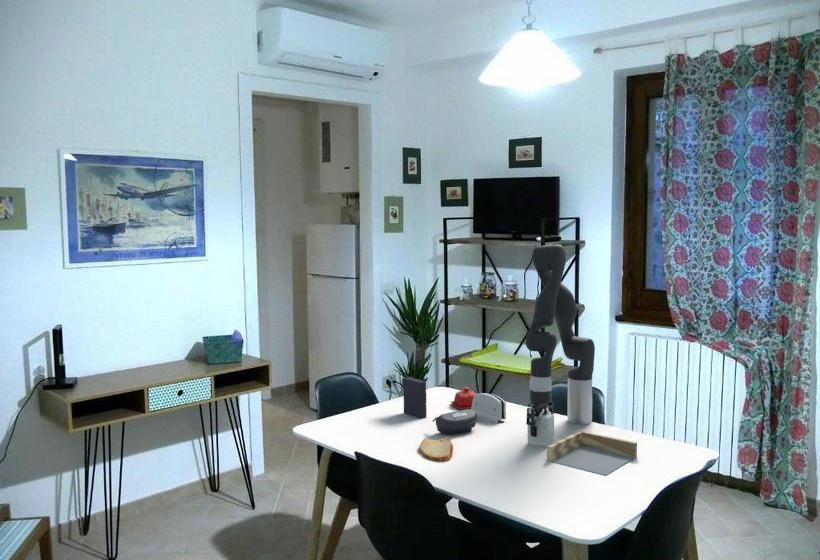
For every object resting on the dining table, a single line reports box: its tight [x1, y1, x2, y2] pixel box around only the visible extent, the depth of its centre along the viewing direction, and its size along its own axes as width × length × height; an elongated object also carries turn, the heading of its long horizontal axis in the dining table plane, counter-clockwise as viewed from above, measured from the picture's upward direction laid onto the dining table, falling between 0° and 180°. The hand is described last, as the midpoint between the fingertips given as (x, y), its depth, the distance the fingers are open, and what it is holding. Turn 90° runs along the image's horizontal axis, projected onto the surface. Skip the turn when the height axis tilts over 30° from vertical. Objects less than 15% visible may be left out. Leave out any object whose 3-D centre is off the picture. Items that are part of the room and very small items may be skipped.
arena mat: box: [550, 446, 636, 477], centre depth 225 cm, size 21×19×1 cm
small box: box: [527, 413, 555, 448], centre depth 242 cm, size 8×6×10 cm
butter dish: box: [450, 386, 477, 410], centre depth 292 cm, size 12×12×8 cm
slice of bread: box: [418, 436, 454, 463], centre depth 234 cm, size 18×18×4 cm
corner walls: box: [546, 430, 638, 463], centre depth 225 cm, size 22×20×5 cm
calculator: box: [401, 376, 427, 420], centre depth 278 cm, size 11×4×15 cm, turn 39°
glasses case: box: [431, 409, 479, 435], centre depth 256 cm, size 18×10×8 cm, turn 124°
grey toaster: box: [471, 392, 507, 424], centre depth 274 cm, size 17×5×10 cm, turn 38°
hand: (540, 433), depth 242 cm, fingers open, 8 cm apart
